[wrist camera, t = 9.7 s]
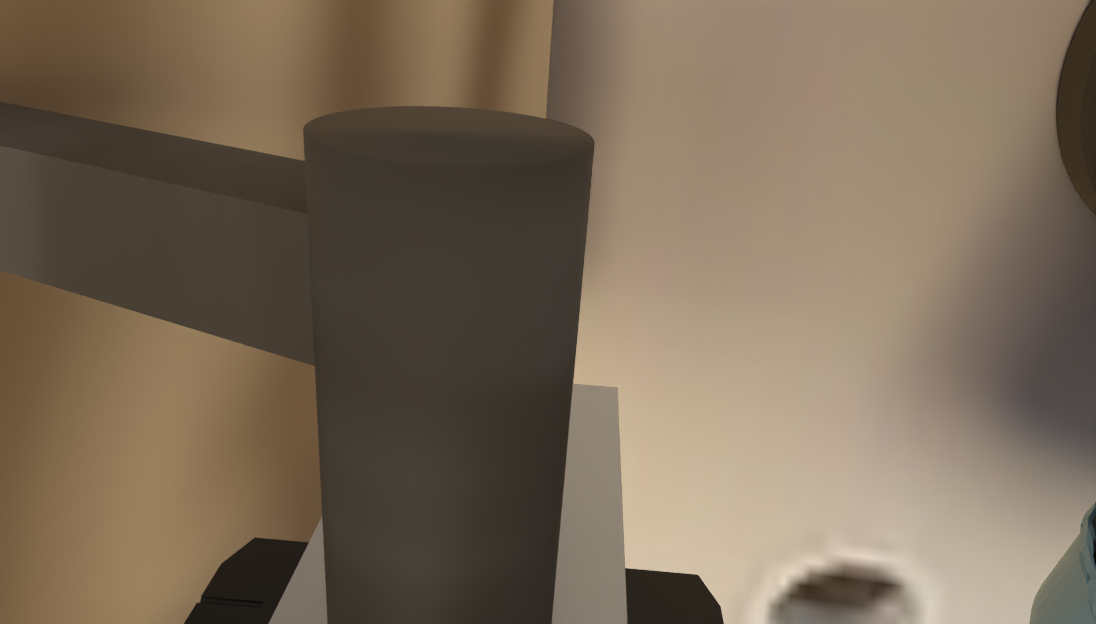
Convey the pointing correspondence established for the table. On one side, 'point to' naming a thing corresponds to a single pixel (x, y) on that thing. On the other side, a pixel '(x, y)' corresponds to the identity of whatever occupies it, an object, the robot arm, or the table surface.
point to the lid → (285, 303)
